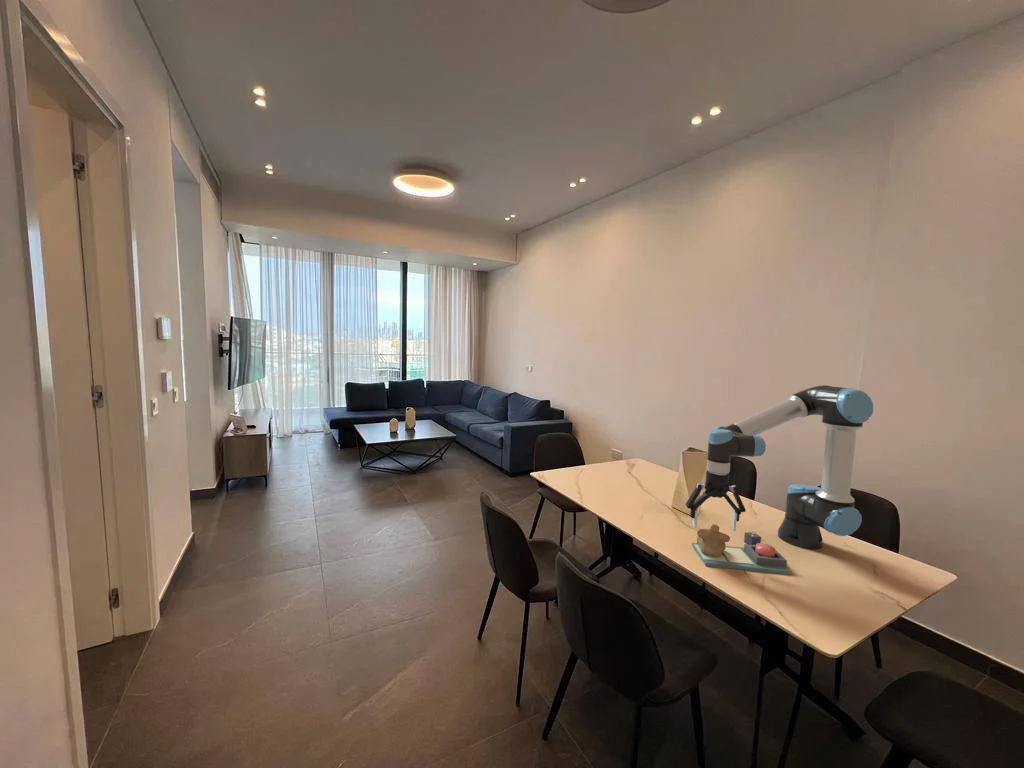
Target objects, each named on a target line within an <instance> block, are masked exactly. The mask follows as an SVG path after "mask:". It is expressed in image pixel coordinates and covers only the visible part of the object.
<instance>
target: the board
mask: <svg viewBox="0 0 1024 768" xmlns="http://www.w3.org/2000/svg"><path fill="white" fill-rule="evenodd" d="M691 546H692V548H693V549H694V551H695V552H696V554H697V555H698V556H699V558H700V560H701V561H702V562H703V564H704V566H705V567H713V568H714V567H716V568H723V569H733V570H742V571H753V572H763V573H770V574H781V575H790V574H791V570H790V569H789V568H787V566H788V560H787V559H786V558H785V557H784V556H783V555H782V554H781V553H780V552H778V550H777V549H775V556H774V557H765V556H759V555H758V554H757V553H756V552H755V549H756V545H748V544H746V543H744V546H731V545H726V548H725V550H724V551H723V552H722V554H721V555H720V556H718V557H716V556H709V555H705V554H703V553H702V552H701V548H700V546H699V545H698V543H697V542H692V543H691Z"/></svg>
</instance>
